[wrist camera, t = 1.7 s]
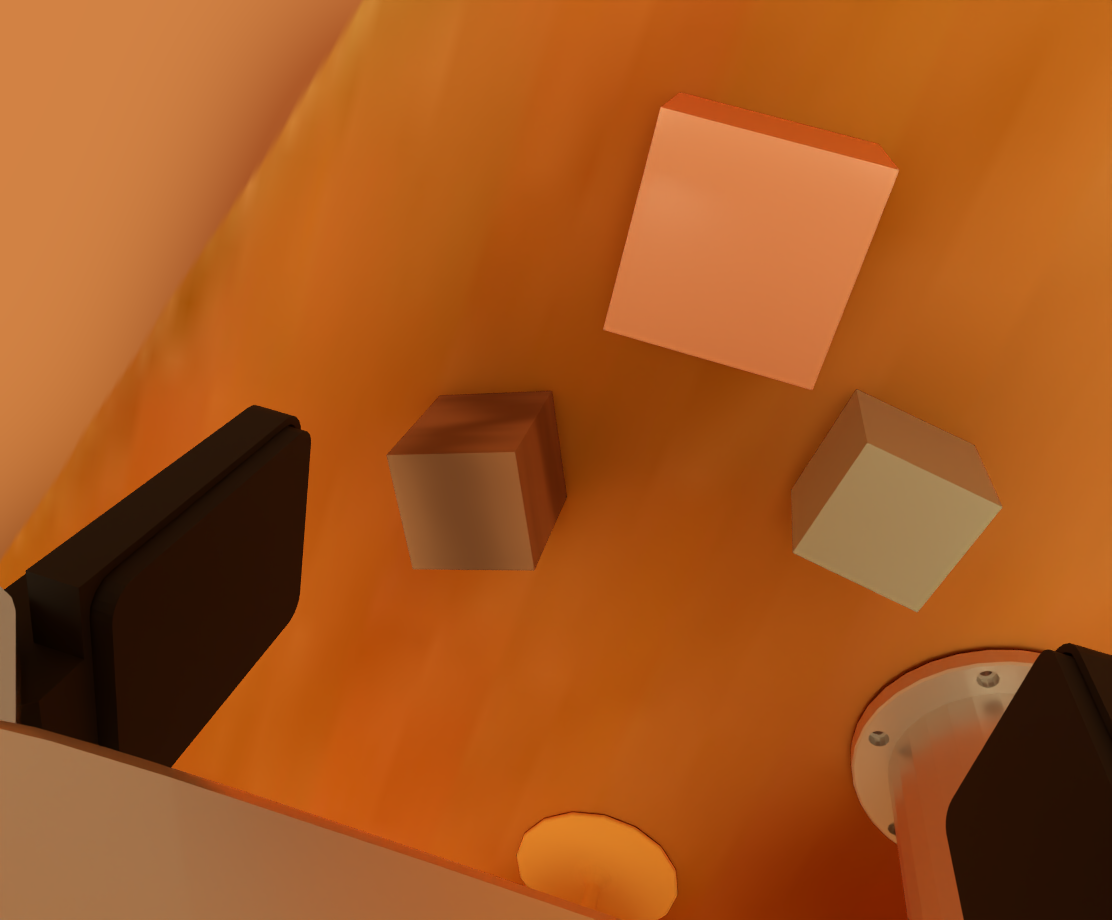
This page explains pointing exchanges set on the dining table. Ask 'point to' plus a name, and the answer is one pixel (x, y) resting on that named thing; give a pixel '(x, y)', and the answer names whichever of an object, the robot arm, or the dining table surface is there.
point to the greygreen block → (890, 501)
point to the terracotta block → (747, 238)
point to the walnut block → (480, 481)
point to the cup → (598, 866)
